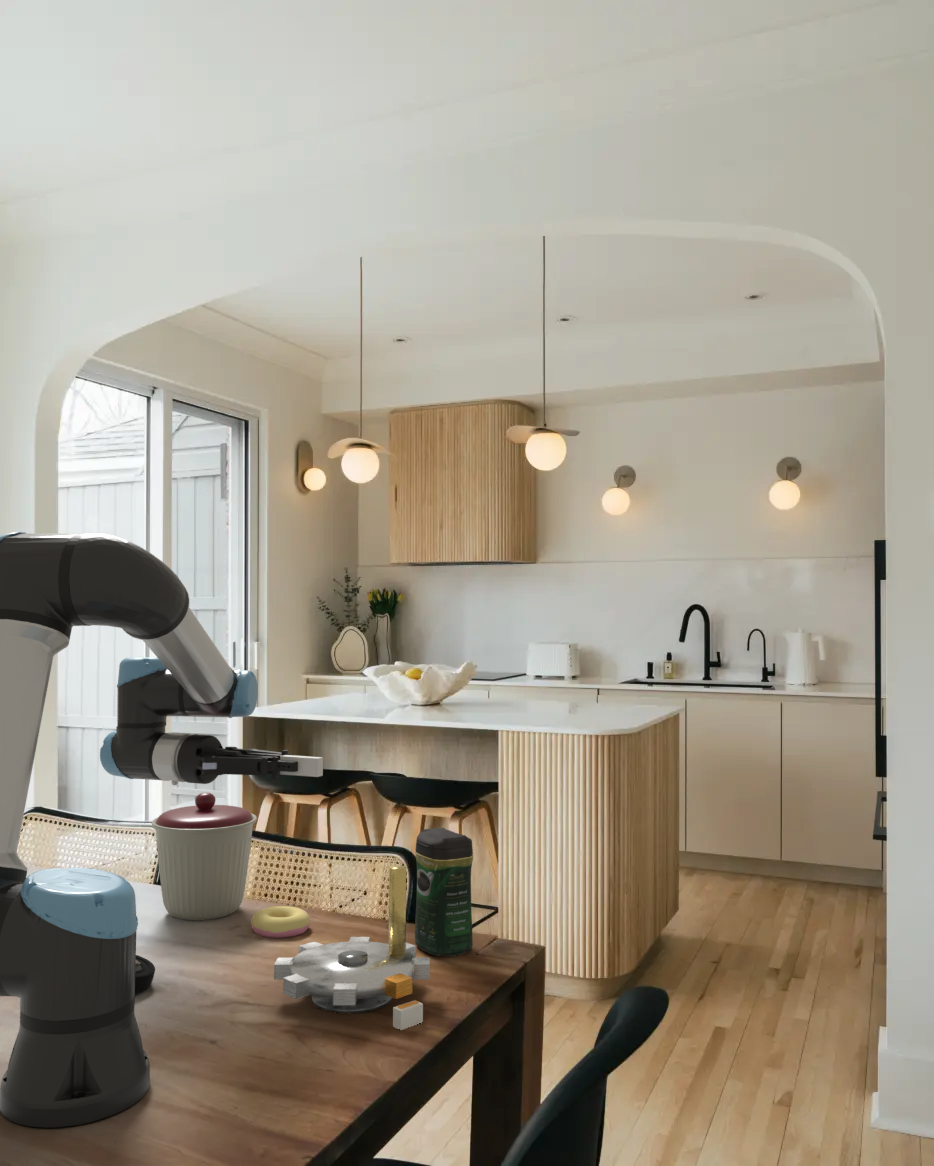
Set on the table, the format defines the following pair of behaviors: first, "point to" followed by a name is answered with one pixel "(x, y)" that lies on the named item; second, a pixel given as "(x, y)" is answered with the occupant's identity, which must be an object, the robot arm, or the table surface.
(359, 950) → the sprocket
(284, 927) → the donut
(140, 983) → the caster wheel
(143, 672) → the robot arm
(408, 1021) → the pointer
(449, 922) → the coffee jar
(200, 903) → the canister
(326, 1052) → the table surface
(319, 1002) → the disc
